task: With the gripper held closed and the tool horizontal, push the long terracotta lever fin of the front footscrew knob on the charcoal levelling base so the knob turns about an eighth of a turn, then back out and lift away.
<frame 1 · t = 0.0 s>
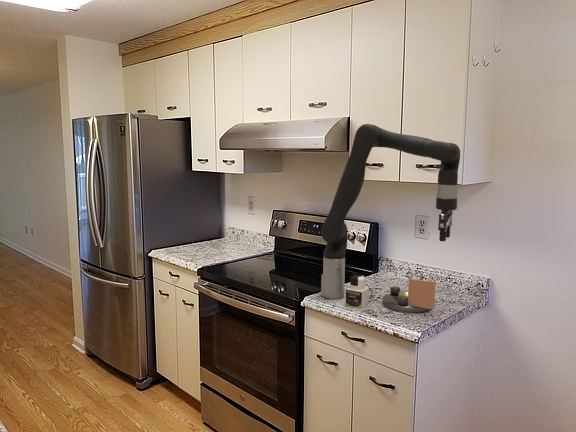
hand: (444, 239, 176), 29 cm above the worktop, tool pointing down, fingers open, 8 cm apart
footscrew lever: (416, 293, 180), point 8 cm above the worktop, hinge at 0.0°
levelling base: (407, 304, 190), on the worktop
medicine bottle: (357, 305, 189), on the worktop
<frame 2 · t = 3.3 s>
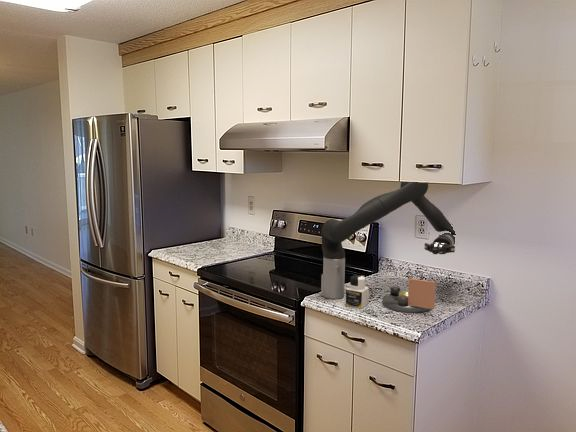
hand: (434, 251, 186), 22 cm above the worktop, tool horizontal, fingers closed
nothing on the worktop moved.
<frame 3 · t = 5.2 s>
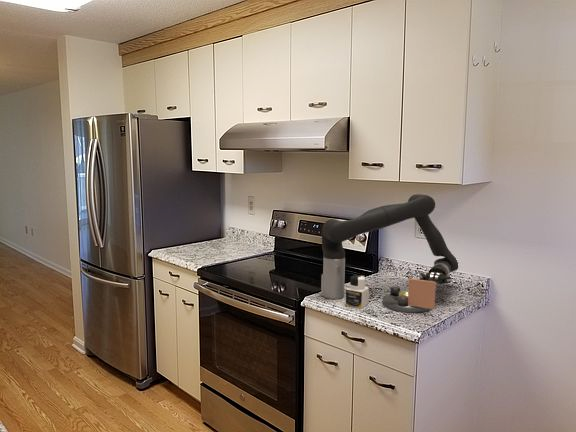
hand: (430, 283, 184), 11 cm above the worktop, tool horizontal, fingers closed
nothing on the worktop moved.
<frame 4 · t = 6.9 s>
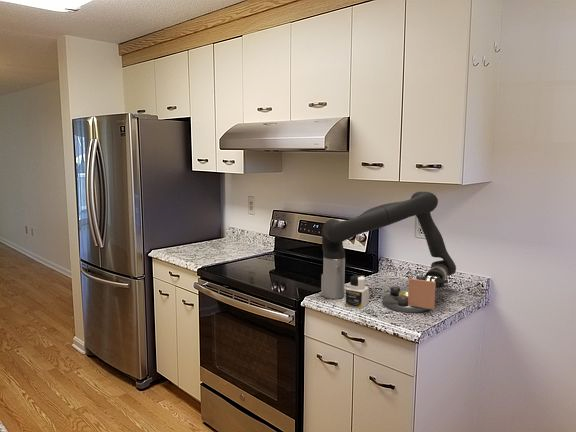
hand: (427, 287, 178), 10 cm above the worktop, tool horizontal, fingers closed
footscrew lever: (416, 293, 180), point 8 cm above the worktop, hinge at -0.3°, touching gripper
everything else where it was.
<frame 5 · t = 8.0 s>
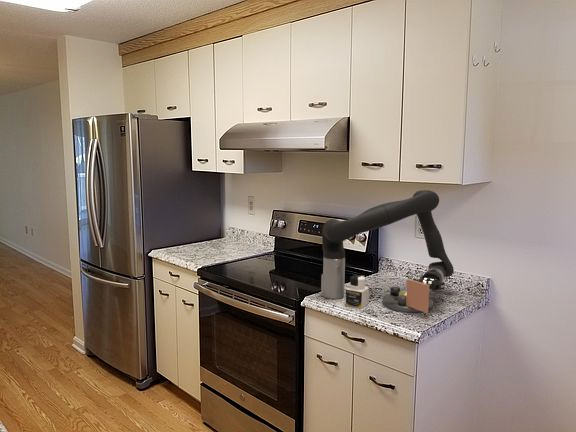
hand: (423, 289, 175), 10 cm above the worktop, tool horizontal, fingers closed
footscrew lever: (413, 294, 178), point 8 cm above the worktop, hinge at -27.6°, touching gripper
everything else where it was.
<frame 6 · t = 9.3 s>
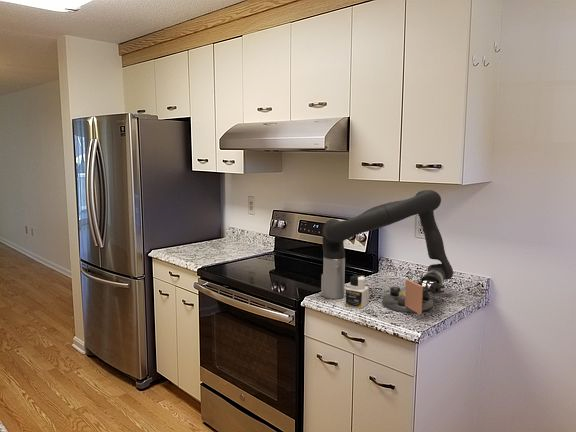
hand: (422, 292, 171), 10 cm above the worktop, tool horizontal, fingers closed
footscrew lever: (410, 294, 178), point 8 cm above the worktop, hinge at -43.4°, touching gripper
everything else where it was.
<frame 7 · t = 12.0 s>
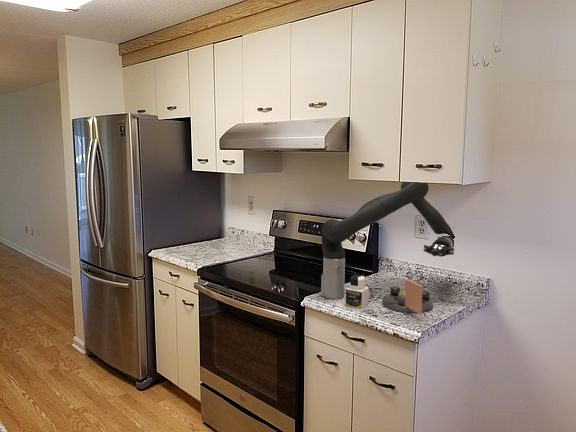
hand: (434, 253, 186), 22 cm above the worktop, tool horizontal, fingers closed
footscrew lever: (410, 294, 178), point 8 cm above the worktop, hinge at -43.6°
everything else where it was.
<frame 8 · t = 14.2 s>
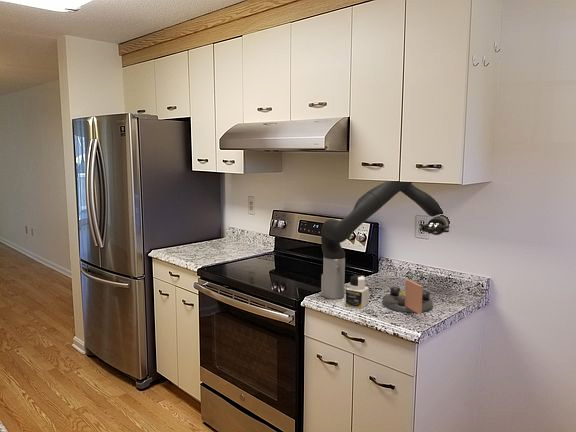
hand: (429, 231, 190), 30 cm above the worktop, tool horizontal, fingers closed
nothing on the worktop moved.
at the end: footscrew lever at -44° (first picture: +0°); medicine bottle moved 0.2 cm from its start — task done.
